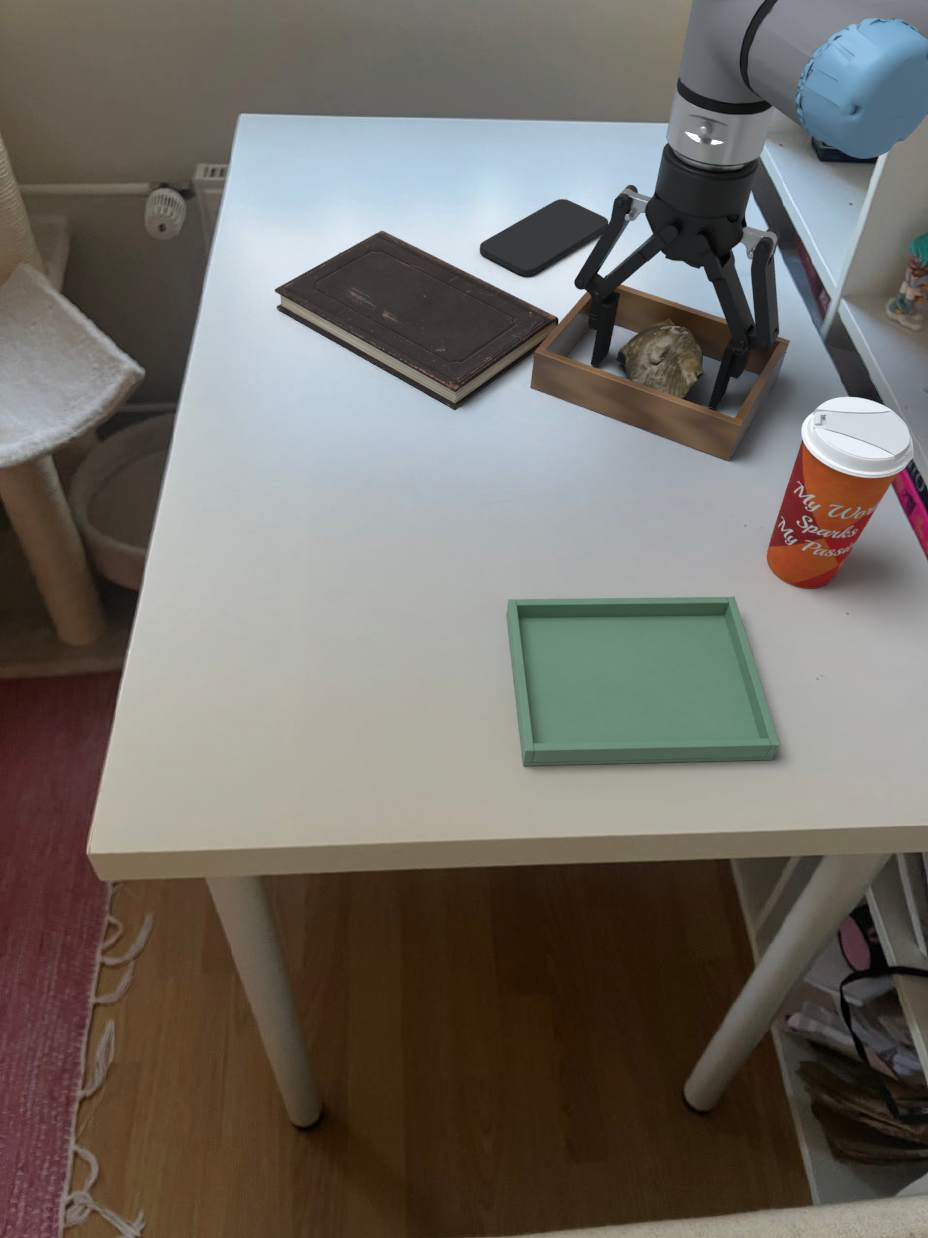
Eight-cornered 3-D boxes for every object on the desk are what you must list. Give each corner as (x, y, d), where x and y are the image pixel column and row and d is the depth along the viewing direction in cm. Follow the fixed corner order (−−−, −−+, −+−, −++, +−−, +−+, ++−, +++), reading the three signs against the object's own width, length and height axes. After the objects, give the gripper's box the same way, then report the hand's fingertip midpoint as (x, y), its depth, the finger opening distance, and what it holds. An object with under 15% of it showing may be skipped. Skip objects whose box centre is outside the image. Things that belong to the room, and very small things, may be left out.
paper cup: (750, 587, 79) (805, 450, 68) (755, 520, 84) (808, 383, 73) (851, 608, 78) (923, 473, 67) (850, 540, 83) (918, 403, 72)
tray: (728, 612, 77) (734, 596, 76) (772, 760, 69) (780, 745, 67) (506, 615, 76) (508, 599, 74) (522, 766, 67) (525, 750, 66)
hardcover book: (454, 409, 91) (455, 389, 89) (276, 309, 100) (274, 288, 98) (557, 334, 99) (560, 314, 98) (385, 247, 108) (385, 227, 106)
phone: (474, 245, 108) (561, 196, 115) (474, 252, 108) (560, 203, 116) (528, 272, 105) (613, 220, 112) (527, 279, 105) (612, 227, 113)
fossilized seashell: (718, 397, 90) (702, 348, 98) (693, 335, 86) (678, 288, 94) (640, 431, 93) (630, 380, 100) (612, 372, 89) (604, 324, 97)
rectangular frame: (778, 375, 97) (790, 340, 94) (728, 461, 88) (740, 425, 85) (593, 312, 102) (599, 276, 99) (529, 387, 94) (534, 351, 91)
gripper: (555, 127, 79) (528, 358, 96) (847, 213, 73) (764, 444, 90) (593, 93, 84) (561, 320, 101) (873, 171, 77) (788, 399, 94)
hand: (657, 379), depth 95 cm, fingers open, 11 cm apart
